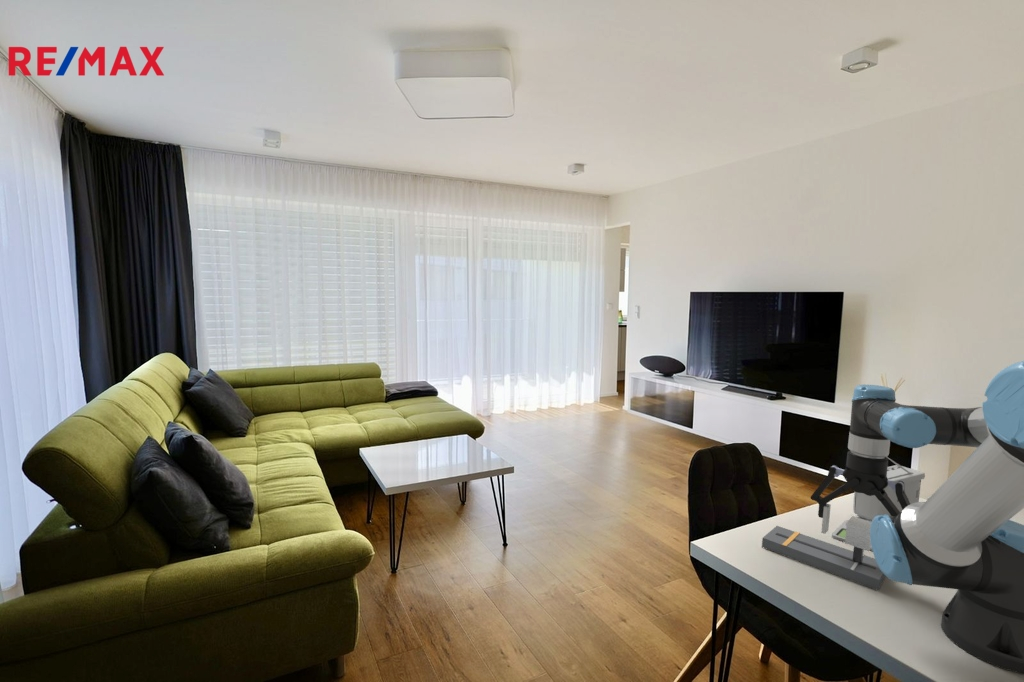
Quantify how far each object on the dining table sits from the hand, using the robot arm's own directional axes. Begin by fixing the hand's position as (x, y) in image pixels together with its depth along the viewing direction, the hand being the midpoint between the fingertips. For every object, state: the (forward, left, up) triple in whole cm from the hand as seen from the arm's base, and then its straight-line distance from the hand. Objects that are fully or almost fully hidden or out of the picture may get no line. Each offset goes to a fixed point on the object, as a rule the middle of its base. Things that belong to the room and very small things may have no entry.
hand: (858, 542), depth 113 cm
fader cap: (0, 0, -4) cm, 4 cm away
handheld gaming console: (+15, -16, -8) cm, 24 cm away
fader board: (+5, +4, -7) cm, 10 cm away
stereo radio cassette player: (+26, -34, -7) cm, 44 cm away
